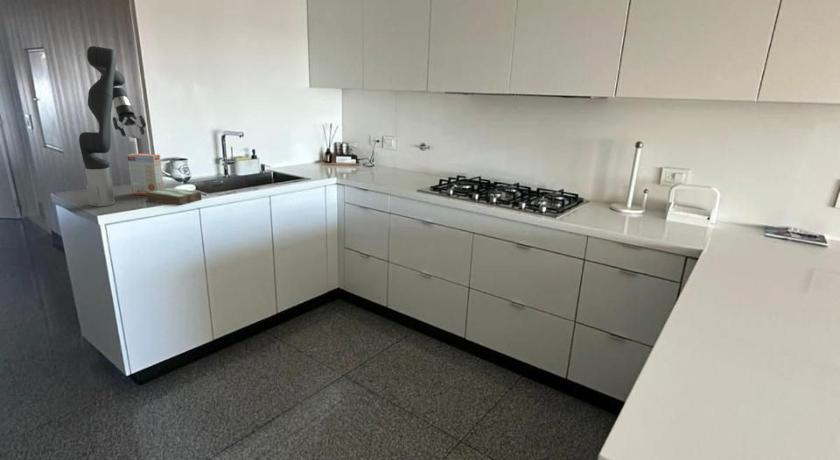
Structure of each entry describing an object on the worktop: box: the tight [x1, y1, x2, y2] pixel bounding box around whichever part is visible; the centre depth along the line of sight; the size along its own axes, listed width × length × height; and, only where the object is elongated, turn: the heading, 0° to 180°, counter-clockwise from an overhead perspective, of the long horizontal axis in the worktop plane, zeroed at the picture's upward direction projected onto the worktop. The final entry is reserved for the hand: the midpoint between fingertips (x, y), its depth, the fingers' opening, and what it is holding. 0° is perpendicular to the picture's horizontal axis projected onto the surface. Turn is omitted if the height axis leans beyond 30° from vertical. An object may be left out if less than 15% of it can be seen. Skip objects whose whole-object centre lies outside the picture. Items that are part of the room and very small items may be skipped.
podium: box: [146, 187, 202, 206], centre depth 227 cm, size 14×20×4 cm
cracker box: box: [127, 153, 165, 196], centre depth 233 cm, size 14×6×21 cm, turn 84°
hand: (134, 135), depth 239 cm, fingers open, 8 cm apart
